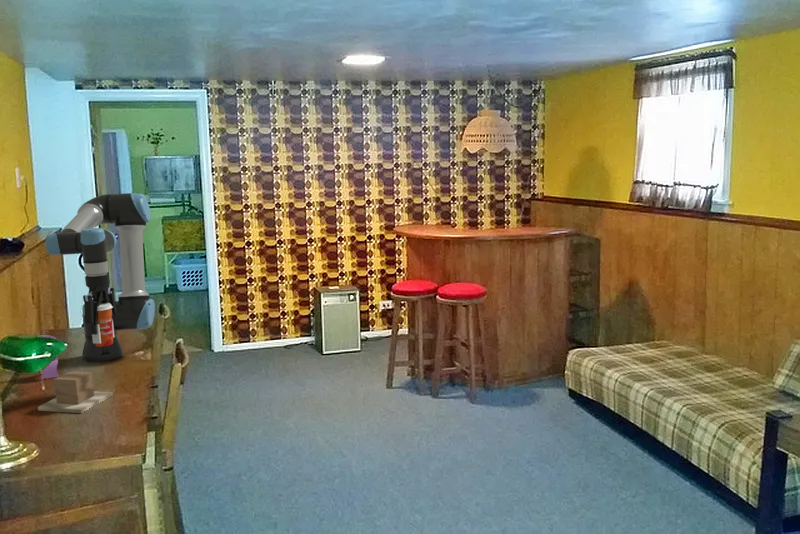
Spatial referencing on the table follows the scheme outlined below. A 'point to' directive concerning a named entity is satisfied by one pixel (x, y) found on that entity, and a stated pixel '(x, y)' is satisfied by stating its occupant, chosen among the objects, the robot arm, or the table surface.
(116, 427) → the table surface
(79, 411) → the blueprint plate
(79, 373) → the walnut block
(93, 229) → the robot arm
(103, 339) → the paper cup
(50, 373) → the toy chair
